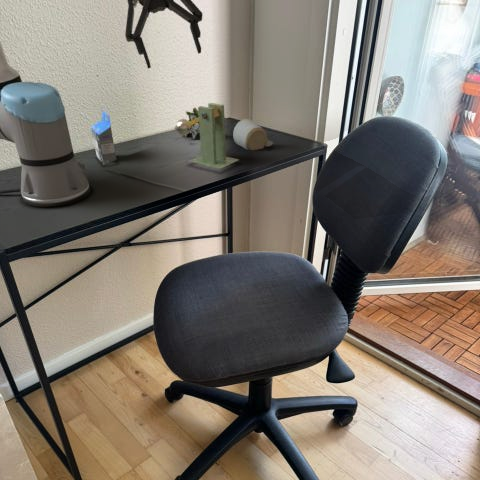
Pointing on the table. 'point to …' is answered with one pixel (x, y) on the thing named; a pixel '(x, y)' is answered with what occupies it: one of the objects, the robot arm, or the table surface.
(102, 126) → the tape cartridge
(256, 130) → the ceramic mug
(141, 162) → the table surface
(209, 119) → the bracket
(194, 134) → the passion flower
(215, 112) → the lever
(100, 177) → the table surface
